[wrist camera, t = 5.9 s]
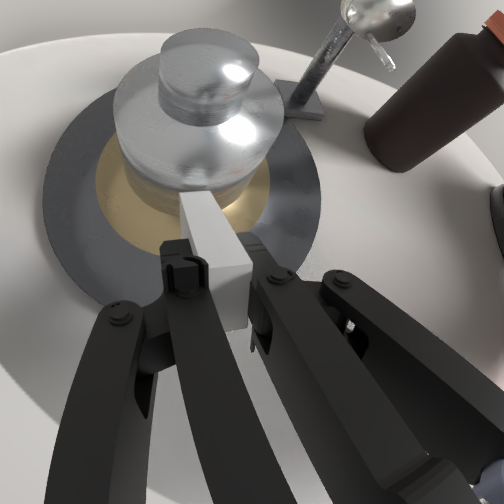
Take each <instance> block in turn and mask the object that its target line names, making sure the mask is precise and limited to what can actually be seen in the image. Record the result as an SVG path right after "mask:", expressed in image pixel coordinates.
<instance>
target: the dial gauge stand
mask: <svg viewBox="0 0 504 504" xmlns="http://www.w3.org/2000/svg"><path fill="white" fill-rule="evenodd" d="M415 16H416V10H415V6H414V4H413V2H412V0H342V2H341V16H340V17H339V19H338V20H337V22H336V23H335V25H334V27H333V28H332V30H331V31H330V33H329V34H328V36H327V38H326V39H325V41H324V42H323V44H322V45H321V47H320V49H319V50H318V52H317V54H316V55H315V57H314V58H313V60H312V62H311V63H310V65H309V66H308V68H307V70H306V71H305V73H304V75H303V76H302V78H301V80H300V81H299V82H292V81H285V80H277V79H276V80H275V82H274V85H275V87H276V88H277V90H278V92H279V94H280V96H281V99H282V102H283V107H284V115H285V116H286V117H293V118H303V119H312V120H320V121H321V120H322V118H323V117H324V116H325V112H324V109H323V107H322V104H321V102H320V100H319V97H318V95H317V92H316V88H317V87H318V85H319V84H320V83H321V81H322V80H323V78H324V77H325V75H326V74H327V72H328V71H329V69H330V68H331V67H332V65H333V64H334V62H335V61H336V59H337V58H338V57H339V55H340V54H341V52H342V51H343V49H344V48H345V47H346V45H347V44H348V42H349V41H350V40H351V38H352V37H353V35H354V34H356V35H357V36H358V37H360V38H361V39H364V40H367V41H368V42H369V43H370V45H371V46H372V47H373V49H374V50H375V52H376V53H377V55H378V56H379V58H380V59H381V61H382V62H383V64H384V65H385V67H386V68H387V70H388V71H390V72H394V71H395V70H396V66H395V65H394V63H393V62H392V60H391V59H390V57H389V56H388V54H387V53H386V52H385V50H384V49H383V47H382V46H381V45H380V43H379V42H387V41H391V40H394V39H397V38H398V37H400V36H402V35H403V34H405V33H406V32H407V31H408V30H409V29H410V28H411V26H412V24H413V23H414V20H415Z"/></svg>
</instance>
